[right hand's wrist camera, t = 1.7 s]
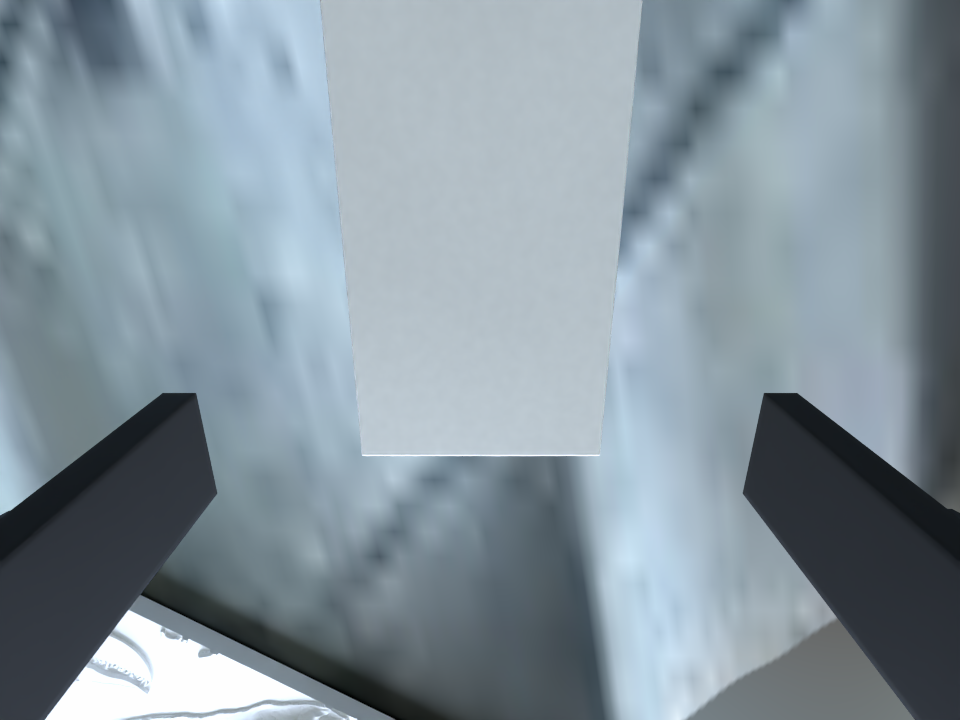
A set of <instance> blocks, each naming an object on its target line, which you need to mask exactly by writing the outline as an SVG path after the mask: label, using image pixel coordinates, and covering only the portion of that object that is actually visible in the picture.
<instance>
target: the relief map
mask: <svg viewBox="0 0 960 720" xmlns="http://www.w3.org/2000/svg"><path fill="white" fill-rule="evenodd" d="M45 720H395V719H393V718H391V717H389V716H387V715H385V714H383V713H381V712H379V711H377V710H375V709H373V708H371V707H369V706H367V705H365V704H363V703H361V702H358V701H356V700H354V699H352V698H350V697H348V696H346V695H344V694H342V693H340V692H338V691H336V690H334V689H332V688H330V687H328V686H326V685H324V684H322V683H320V682H318V681H316V680H313V679H311V678H309V677H307V676H305V675H303V674H301V673H299V672H297V671H295V670H293V669H291V668H289V667H287V666H285V665H283V664H281V663H279V662H277V661H275V660H273V659H270V658H268V657H266V656H264V655H262V654H260V653H258V652H256V651H254V650H252V649H250V648H248V647H246V646H244V645H242V644H240V643H238V642H236V641H234V640H232V639H230V638H228V637H225V636H223V635H221V634H219V633H217V632H215V631H213V630H211V629H209V628H207V627H205V626H203V625H201V624H199V623H197V622H195V621H193V620H191V619H189V618H187V617H185V616H182V615H180V614H178V613H176V612H174V611H172V610H170V609H168V608H166V607H164V606H162V605H160V604H158V603H156V602H154V601H152V600H150V599H148V598H146V597H144V596H142V595H140V596H139V597H138V598H137V599H136V601H135V602H134V603H133V605H132V606H131V607H130V609H129V610H128V611H127V613H126V614H125V615H124V617H123V618H122V619H121V621H120V622H119V623H118V624H117V626H116V627H115V628H114V630H113V631H112V632H111V634H110V635H109V636H108V638H107V639H106V640H105V642H104V643H103V644H102V645H101V647H100V648H99V649H98V651H97V652H96V653H95V655H94V656H93V657H92V659H91V660H90V661H89V663H88V664H87V665H86V666H85V668H84V669H83V670H82V672H81V673H80V674H79V676H78V677H77V678H76V680H75V681H74V682H73V684H72V685H71V686H70V688H69V689H68V690H67V691H66V693H65V694H64V695H63V697H62V698H61V699H60V701H59V702H58V703H57V705H56V706H55V707H54V709H53V710H52V711H51V712H50V714H49V715H48V716H47V718H46V719H45Z"/></svg>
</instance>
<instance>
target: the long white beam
mask: <svg viewBox="0 0 960 720" xmlns="http://www.w3.org/2000/svg"><path fill="white" fill-rule="evenodd" d="M642 1H643V0H320V5H321V16H322V27H323V38H324V49H325V60H326V70H327V81H328V92H329V103H330V114H331V125H332V135H333V146H334V157H335V168H336V179H337V190H338V200H339V211H340V222H341V233H342V244H343V255H344V266H345V276H346V287H347V298H348V309H349V320H350V331H351V341H352V352H353V363H354V374H355V385H356V396H357V407H358V417H359V428H360V439H361V450H362V455H363V456H599V455H600V449H601V438H602V428H603V417H604V406H605V396H606V385H607V374H608V364H609V353H610V342H611V332H612V321H613V310H614V300H615V289H616V278H617V268H618V257H619V246H620V236H621V225H622V214H623V204H624V193H625V182H626V171H627V161H628V150H629V139H630V129H631V118H632V107H633V97H634V86H635V75H636V65H637V54H638V43H639V33H640V22H641V11H642Z"/></svg>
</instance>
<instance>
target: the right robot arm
mask: <svg viewBox="0 0 960 720" xmlns="http://www.w3.org/2000/svg"><path fill="white" fill-rule="evenodd" d="M216 494H217V490H216V485H215V481H214V476H213V471H212V466H211V462H210V457H209V452H208V448H207V443H206V438H205V433H204V429H203V424H202V419H201V414H200V410H199V405H198V400H197V396H196V393H162V394H161V395H160V396H159V397H157V398H156V399H155V400H153V401H152V402H151V403H149V404H148V405H147V406H146V407H144V408H143V409H142V410H140V411H139V412H138V413H136V414H135V415H134V416H133V417H131V418H130V419H129V420H127V421H126V422H125V423H124V424H122V425H121V426H120V427H118V428H117V429H116V430H114V431H113V432H112V433H111V434H109V435H108V436H107V437H105V438H104V439H103V440H102V441H100V442H99V443H98V444H96V445H95V446H94V447H92V448H91V449H90V450H89V451H87V452H86V453H85V454H83V455H82V456H81V457H80V458H78V459H77V460H76V461H74V462H73V463H72V464H70V465H69V466H68V467H67V468H65V469H64V470H63V471H61V472H60V473H59V474H58V475H56V476H55V477H54V478H52V479H51V480H50V481H48V482H47V483H46V484H45V485H43V486H42V487H41V488H39V489H38V490H37V491H36V492H34V493H33V494H32V495H30V496H29V497H28V498H26V499H25V500H24V501H23V502H21V503H20V504H19V505H17V506H16V507H15V508H13V509H12V510H11V511H8V512H6V513H4V514H2V515H0V720H45V719H46V718H47V716H48V715H49V714H50V712H51V711H52V710H53V709H54V707H55V706H56V705H57V703H58V702H59V701H60V699H61V698H62V697H63V695H64V694H65V693H66V691H67V690H68V689H69V688H70V686H71V685H72V684H73V682H74V681H75V680H76V678H77V677H78V676H79V674H80V673H81V672H82V670H83V669H84V668H85V666H86V665H87V664H88V663H89V661H90V660H91V659H92V657H93V656H94V655H95V653H96V652H97V651H98V649H99V648H100V647H101V645H102V644H103V643H104V642H105V640H106V639H107V638H108V636H109V635H110V634H111V632H112V631H113V630H114V628H115V627H116V626H117V624H118V623H119V622H120V621H121V619H122V618H123V617H124V615H125V614H126V613H127V611H128V610H129V609H130V607H131V606H132V605H133V603H134V602H135V601H136V599H137V598H138V597H139V596H140V594H141V593H142V592H143V590H144V589H145V588H146V586H147V585H148V584H149V582H150V581H151V580H152V578H153V577H154V576H155V575H156V573H157V572H158V571H159V569H160V568H161V567H162V565H163V564H164V563H165V561H166V560H167V559H168V557H169V556H170V555H171V553H172V552H173V551H174V550H175V548H176V547H177V546H178V544H179V543H180V542H181V540H182V539H183V538H184V536H185V535H186V534H187V532H188V531H189V530H190V529H191V527H192V526H193V525H194V523H195V522H196V521H197V519H198V518H199V517H200V515H201V514H202V513H203V511H204V510H205V509H206V508H207V506H208V505H209V504H210V502H211V501H212V500H213V498H214V497H215V496H216ZM743 494H744V496H745V497H746V498H747V500H748V501H749V502H750V504H751V505H752V506H753V508H754V509H755V510H756V511H757V513H758V514H759V515H760V517H761V518H762V519H763V521H764V522H765V523H766V525H767V526H768V527H769V529H770V530H771V531H772V532H773V534H774V535H775V536H776V538H777V539H778V540H779V542H780V543H781V544H782V546H783V547H784V548H785V550H786V551H787V552H788V553H789V555H790V556H791V557H792V559H793V560H794V561H795V563H796V564H797V565H798V567H799V568H800V569H801V571H802V572H803V573H804V575H805V576H806V577H807V578H808V580H809V581H810V582H811V584H812V585H813V586H814V588H815V589H816V590H817V592H818V593H819V594H820V596H821V597H822V598H823V599H824V601H825V602H826V603H827V605H828V606H829V607H830V609H831V610H832V611H833V613H834V614H835V615H836V617H837V618H838V619H839V620H840V622H841V623H842V624H843V626H844V627H845V628H846V630H847V631H848V632H849V634H850V635H851V636H852V638H853V639H854V640H855V641H856V643H857V644H858V645H859V647H860V648H861V649H862V651H863V652H864V653H865V655H866V656H867V657H868V659H869V660H870V661H871V663H872V664H873V665H874V666H875V668H876V669H877V670H878V672H879V673H880V674H881V676H882V677H883V678H884V680H885V681H886V682H887V684H888V685H889V686H890V687H891V689H892V690H893V691H894V693H895V694H896V695H897V697H898V698H899V699H900V701H901V702H902V703H903V705H904V706H905V707H906V709H907V710H908V711H909V712H910V714H911V715H912V716H913V718H914V719H915V720H960V513H959V512H957V511H955V510H953V509H947V508H945V507H944V506H943V505H941V504H940V503H939V502H937V501H936V500H935V499H934V498H932V497H931V496H930V495H928V494H927V493H926V492H924V491H923V490H922V489H921V488H919V487H918V486H917V485H915V484H914V483H913V482H912V481H910V480H909V479H908V478H906V477H905V476H904V475H902V474H901V473H900V472H899V471H897V470H896V469H895V468H893V467H892V466H891V465H890V464H888V463H887V462H886V461H884V460H883V459H882V458H880V457H879V456H878V455H877V454H875V453H874V452H873V451H871V450H870V449H869V448H868V447H866V446H865V445H864V444H862V443H861V442H860V441H858V440H857V439H856V438H855V437H853V436H852V435H851V434H849V433H848V432H847V431H846V430H844V429H843V428H842V427H840V426H839V425H838V424H836V423H835V422H834V421H833V420H831V419H830V418H829V417H827V416H826V415H825V414H824V413H822V412H821V411H820V410H818V409H817V408H816V407H814V406H813V405H812V404H811V403H809V402H808V401H807V400H805V399H804V398H803V397H801V396H800V395H799V394H798V393H764V396H763V400H762V405H761V410H760V414H759V419H758V424H757V429H756V433H755V438H754V443H753V448H752V452H751V457H750V462H749V466H748V471H747V476H746V481H745V485H744V490H743Z"/></svg>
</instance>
